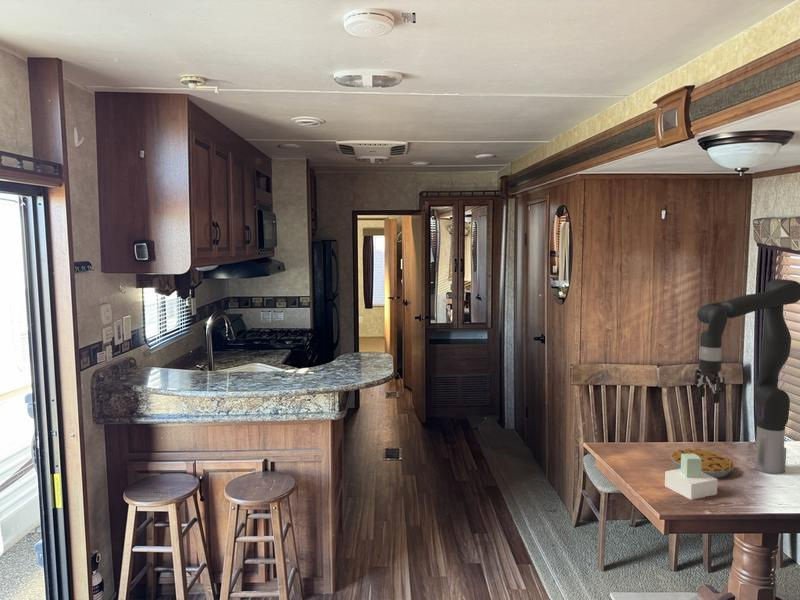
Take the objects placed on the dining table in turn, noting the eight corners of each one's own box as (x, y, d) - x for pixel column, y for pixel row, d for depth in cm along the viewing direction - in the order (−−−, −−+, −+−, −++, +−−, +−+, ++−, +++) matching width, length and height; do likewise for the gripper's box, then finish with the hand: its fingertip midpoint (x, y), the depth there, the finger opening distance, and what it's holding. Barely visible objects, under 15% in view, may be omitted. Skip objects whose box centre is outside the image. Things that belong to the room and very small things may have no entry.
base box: (689, 482, 214) (690, 466, 213) (716, 495, 202) (717, 479, 202) (664, 486, 210) (665, 471, 209) (690, 500, 198) (691, 484, 198)
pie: (700, 455, 239) (701, 444, 238) (746, 475, 218) (747, 463, 218) (658, 462, 232) (659, 450, 232) (701, 483, 212) (702, 470, 211)
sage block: (694, 472, 208) (695, 453, 207) (700, 477, 203) (701, 458, 202) (680, 472, 208) (681, 453, 208) (686, 477, 203) (687, 458, 203)
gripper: (732, 361, 207) (730, 404, 208) (707, 354, 221) (705, 394, 222) (713, 362, 206) (711, 405, 207) (689, 354, 220) (687, 395, 222)
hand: (708, 399), depth 215 cm, fingers open, 8 cm apart
